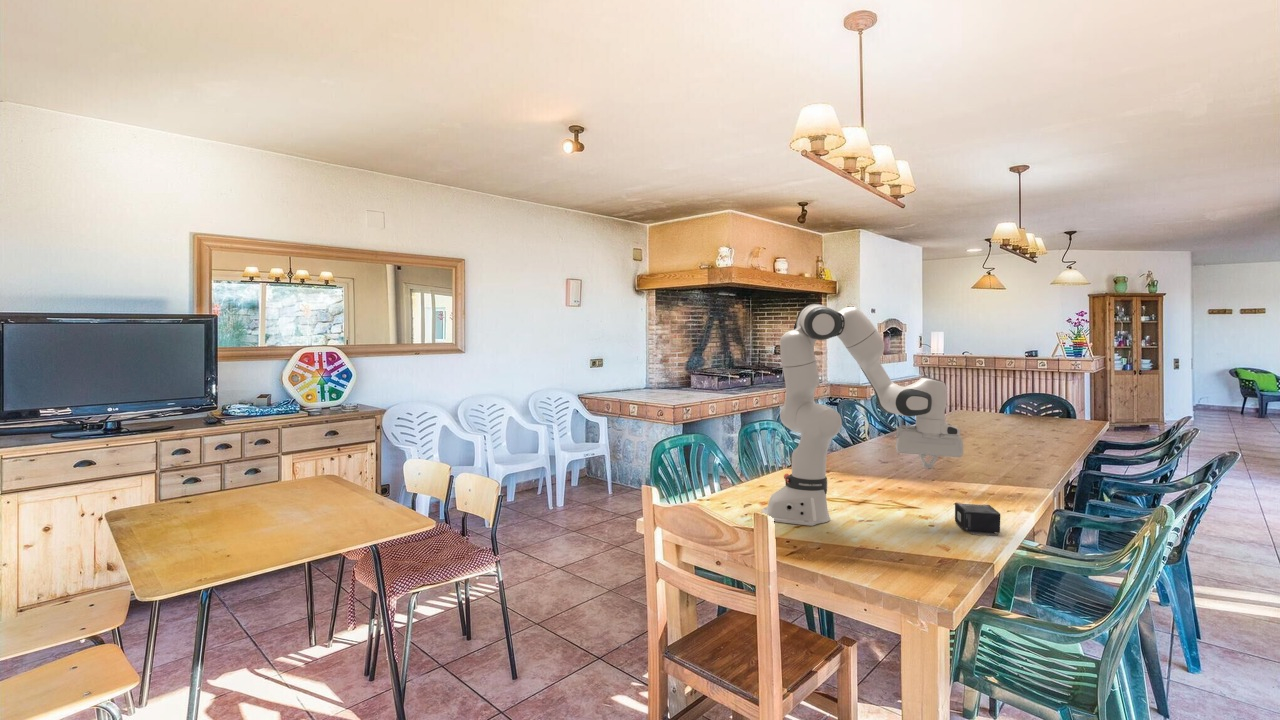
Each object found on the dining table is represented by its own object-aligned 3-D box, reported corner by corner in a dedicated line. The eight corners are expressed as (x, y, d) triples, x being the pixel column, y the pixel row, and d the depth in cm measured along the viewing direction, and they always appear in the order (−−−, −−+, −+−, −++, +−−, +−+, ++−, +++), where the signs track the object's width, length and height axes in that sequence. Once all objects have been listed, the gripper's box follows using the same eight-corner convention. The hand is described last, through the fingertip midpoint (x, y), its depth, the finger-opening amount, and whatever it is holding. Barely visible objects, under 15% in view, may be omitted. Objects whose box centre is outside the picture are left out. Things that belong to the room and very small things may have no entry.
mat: (971, 534, 189) (971, 533, 189) (957, 521, 201) (957, 520, 201) (997, 535, 187) (997, 535, 187) (982, 523, 200) (982, 522, 200)
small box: (963, 532, 190) (1001, 533, 188) (963, 511, 190) (1001, 513, 188) (954, 522, 201) (989, 523, 198) (954, 502, 200) (989, 503, 198)
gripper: (898, 425, 200) (896, 467, 200) (966, 430, 196) (963, 473, 196) (894, 423, 206) (892, 464, 206) (960, 427, 202) (957, 469, 202)
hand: (927, 468), depth 201 cm, fingers closed
